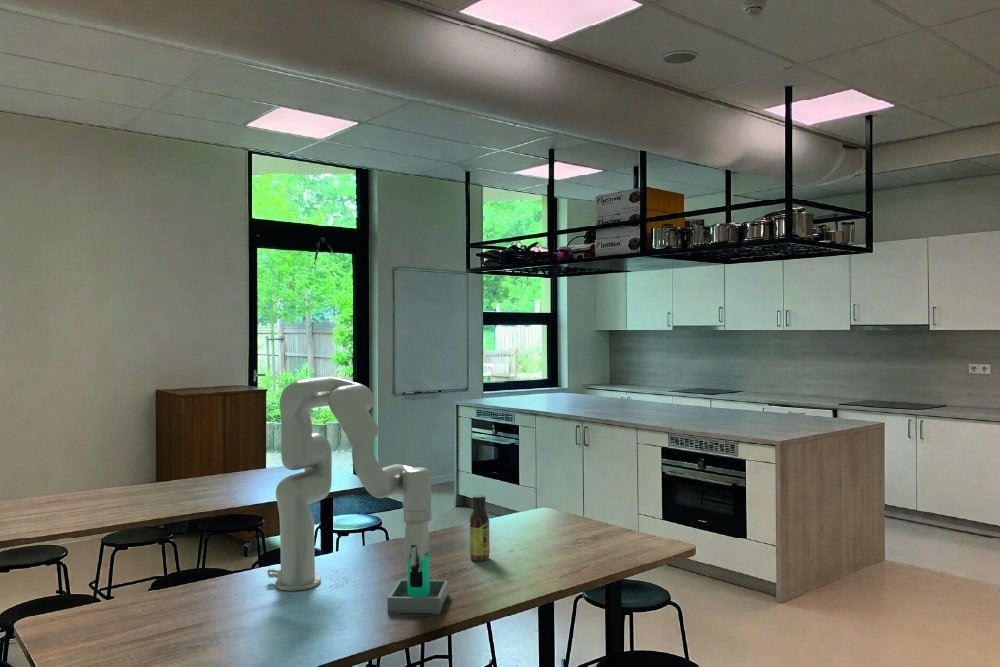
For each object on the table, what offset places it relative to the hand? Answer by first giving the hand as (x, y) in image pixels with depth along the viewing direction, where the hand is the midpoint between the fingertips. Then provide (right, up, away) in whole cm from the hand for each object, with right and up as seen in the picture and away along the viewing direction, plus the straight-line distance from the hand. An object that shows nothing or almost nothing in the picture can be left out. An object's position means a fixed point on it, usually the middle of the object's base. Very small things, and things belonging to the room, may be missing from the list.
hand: (418, 582), depth 195 cm
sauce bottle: (+15, -5, +37) cm, 41 cm away
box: (0, -6, 0) cm, 6 cm away
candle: (0, -3, 0) cm, 3 cm away
